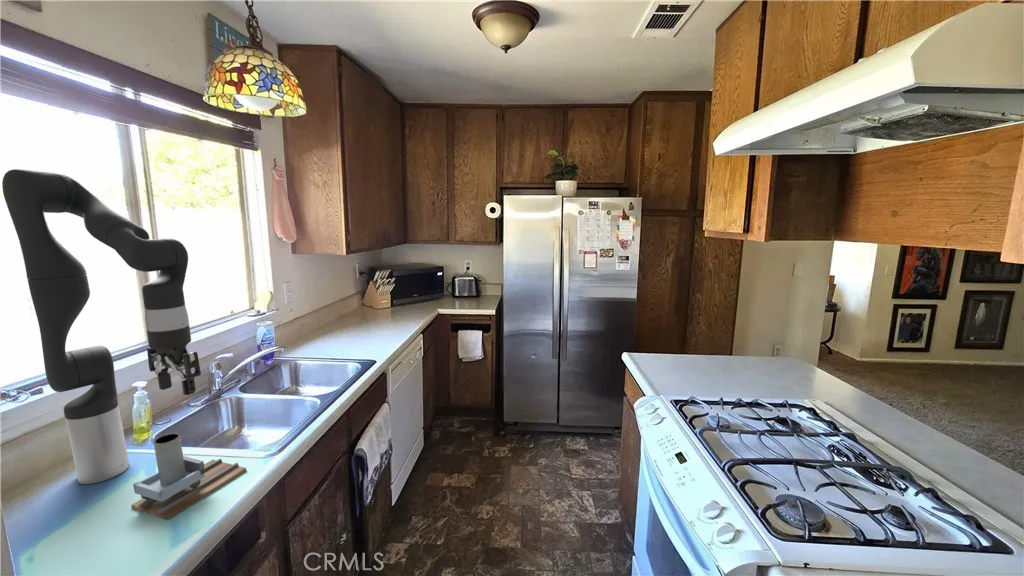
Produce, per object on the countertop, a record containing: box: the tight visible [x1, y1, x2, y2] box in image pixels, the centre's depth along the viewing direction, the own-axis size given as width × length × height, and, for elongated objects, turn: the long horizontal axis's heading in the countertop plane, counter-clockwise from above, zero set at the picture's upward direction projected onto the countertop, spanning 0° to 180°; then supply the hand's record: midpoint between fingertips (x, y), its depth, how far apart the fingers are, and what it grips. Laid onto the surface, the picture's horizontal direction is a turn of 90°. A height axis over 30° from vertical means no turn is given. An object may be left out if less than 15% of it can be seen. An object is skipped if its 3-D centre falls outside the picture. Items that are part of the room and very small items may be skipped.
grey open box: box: [132, 455, 205, 505], centre depth 91 cm, size 9×9×6 cm
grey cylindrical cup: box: [153, 432, 186, 485], centre depth 90 cm, size 4×4×10 cm
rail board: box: [131, 458, 247, 521], centre depth 95 cm, size 12×18×2 cm, turn 162°
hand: (177, 391), depth 94 cm, fingers open, 8 cm apart
